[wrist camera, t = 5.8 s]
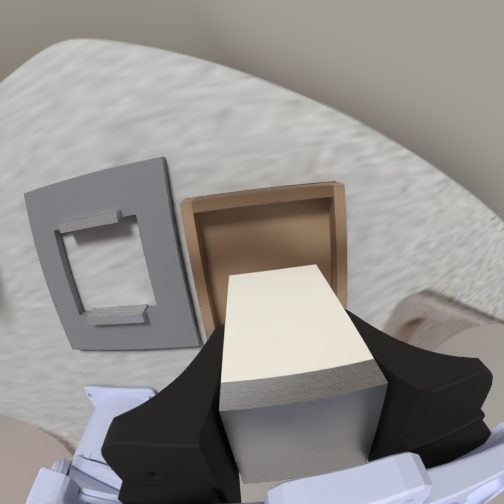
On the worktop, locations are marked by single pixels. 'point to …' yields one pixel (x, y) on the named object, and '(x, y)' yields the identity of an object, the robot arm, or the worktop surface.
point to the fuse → (295, 378)
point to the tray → (264, 238)
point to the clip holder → (154, 246)
